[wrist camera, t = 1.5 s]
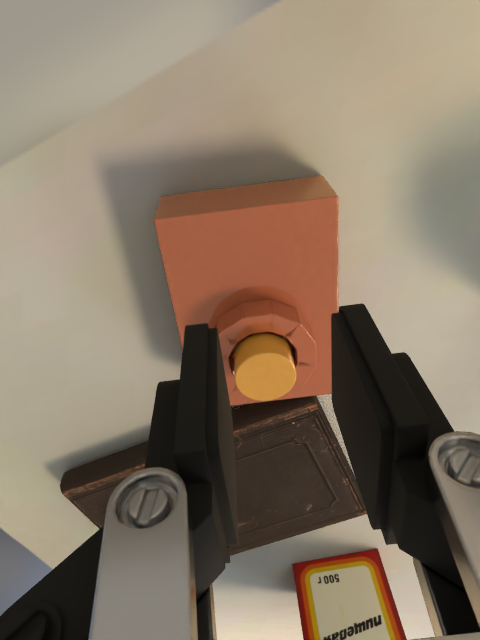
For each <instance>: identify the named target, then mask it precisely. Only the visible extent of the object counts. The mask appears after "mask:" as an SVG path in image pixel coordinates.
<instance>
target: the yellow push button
mask: <svg viewBox="0 0 480 640" xmlns="http://www.w3.org/2000/svg"><path fill="white" fill-rule="evenodd" d="M233 359H234V375H235V383H236V386H237V388H238V389H239V391H240V392H241V393H242V394H243V395H245V396H246V397H248V398H251V399H253V400H258V401H269V400H274V399H277V398H280V397H282V396H283V395H285V394H286V393H288V392H289V391H290V390H291V388H292V387H293V385H294V384H295V381H296V377H297V372H296V367H295V363H294V359H293V355H292V351H291V348H290V346H289V345H288V343H287V342H286V341H285V340H284V339H282V338H281V337H279V336H277V335H274V334H269V333H260V334H255V335H252V336H249V337H247V338H246V339H244V340H243V341H242V342H241V343H240V344H239V345H238V346H237V348H236V350H235V352H234V358H233Z"/></svg>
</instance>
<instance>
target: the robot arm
mask: <svg viewBox="0 0 480 640" xmlns="http://www.w3.org/2000/svg"><path fill="white" fill-rule="evenodd" d="M331 362H332V403H333V408H334V412H335V415H336V418H337V421H338V424H339V427H340V431H341V434H342V437H343V440H344V443H345V446H346V449H347V452H348V456H349V459H350V462H351V465H352V468H353V471H354V474H355V477H356V480H357V484H358V487H359V490H360V493H361V496H362V499H363V502H364V505H365V509H366V512H367V515H368V518H369V521H370V524H371V526H372V528H373V529H374V530H375V529H381V531H382V533H383V536H384V539H385V542H386V545H388V544H398V547H399V549H401V550H403V551H404V552H406V553H407V554H409V555H411V556H412V557H413V562H414V567H415V570H416V573H417V577H418V580H419V584H420V587H421V590H422V594H423V597H424V600H425V604H426V607H427V611H428V614H429V617H430V621H431V624H432V627H433V631H434V634H435V637H430V638H421V639H412V640H480V435H479V434H475V433H471V432H459V431H456V432H454V430H453V428H452V427H451V425H450V423H449V422H448V420H447V418H446V417H445V415H444V413H443V412H442V410H441V409H440V407H439V405H438V404H437V402H436V400H435V399H434V397H433V395H432V394H431V392H430V390H429V389H428V387H427V385H426V384H425V382H424V380H423V379H422V377H421V375H420V374H419V372H418V370H417V369H416V367H415V366H414V364H413V362H412V361H411V359H410V357H409V356H408V355H407V354H406V353H404V352H402V353H394V354H391V352H390V350H389V348H388V346H387V345H386V343H385V341H384V339H383V337H382V336H381V334H380V332H379V330H378V328H377V327H376V325H375V323H374V321H373V319H372V318H371V316H370V314H369V312H368V310H367V309H366V307H365V305H364V304H355V305H347V306H340V307H339V313H332V315H331ZM238 544H239V539H238V519H237V500H236V480H235V460H234V441H233V422H232V412H231V405H230V399H229V393H228V388H227V382H226V376H225V370H224V364H223V358H222V352H221V346H220V340H219V334H218V329H217V328H209V325H208V323H202V324H194V325H186V326H185V332H184V343H183V353H182V364H181V375H180V380H172V381H164V382H159V383H158V386H157V391H156V397H155V404H154V410H153V416H152V423H151V429H150V436H149V442H148V448H147V455H146V461H145V468H144V469H143V470H140V471H137V472H135V473H133V474H131V475H130V476H128V477H126V478H125V479H124V480H123V481H122V482H121V483H120V484H119V485H117V486H116V488H115V490H114V491H113V493H112V494H111V496H110V498H109V501H108V504H107V508H106V516H105V523H104V526H103V527H102V528H101V529H99V530H98V531H97V532H96V533H95V534H94V535H92V536H91V537H90V538H89V539H88V540H87V541H86V542H84V543H83V544H82V545H81V546H80V547H79V548H77V549H76V550H75V551H74V552H73V553H72V554H71V555H69V556H68V557H67V558H66V559H65V560H64V561H62V562H61V563H60V564H59V565H58V566H57V567H55V568H54V569H53V570H52V571H51V572H50V573H49V574H47V575H46V576H45V577H44V578H43V579H42V580H41V581H39V582H38V583H37V584H36V585H35V586H34V587H32V588H31V589H30V590H29V591H28V592H27V593H25V594H24V595H23V596H22V597H21V598H20V599H19V600H17V601H16V602H15V603H14V604H13V605H12V606H11V607H9V608H8V609H7V610H6V611H5V612H4V613H3V614H2V615H1V616H0V640H217V636H216V623H215V610H214V596H213V586H212V583H213V582H214V580H215V579H216V578H217V577H218V576H219V575H220V574H221V572H222V571H223V570H224V569H225V563H230V547H229V546H236V545H238Z"/></svg>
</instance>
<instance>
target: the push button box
mask: <svg viewBox="0 0 480 640" xmlns="http://www.w3.org/2000/svg"><path fill="white" fill-rule="evenodd" d="M154 224H155V229H156V233H157V238H158V242H159V247H160V251H161V256H162V260H163V264H164V269H165V273H166V278H167V282H168V287H169V291H170V296H171V300H172V304H173V309H174V313H175V318H176V322H177V327H178V331H179V335H180V340H181V344H182V349H183V343H184V332H185V326H186V325H194V324H202V323H208V325H209V328H217V329H218V334H219V340H220V346H221V352H222V358H223V364H224V370H225V376H226V382H227V388H228V393H229V399H230V405H231V406H233V405H241V404H249V403H258V402H266V401H258V400H253V399H251V398H248V397H246V396H245V395H243V394H242V393H241V392H240V391H239V389H238V388H237V386H236V383H235V375H234V359H233V358H234V352H235V350H236V348H237V346H238V345H239V344H240V343H241V342H242V341H243V340H244V339H246V338H247V337H249V336H252V335H255V334H260V333H269V334H274V335H277V336H279V337H281V338H282V339H284V340H285V341H286V342H287V343H288V345H289V346H290V348H291V351H292V355H293V359H294V363H295V367H296V372H297V377H296V381H295V384H294V385H293V387H292V388H291V390H290V391H289V392H288V393H286V394H285V395H283V396H282V397H280V398H277V399H274V400H283V399H291V398H299V397H307V396H316V395H324V394H332V362H331V315H332V313H338V195H337V194H336V193H335V191H334V190H333V189H332V187H331V186H330V185H329V183H328V182H327V181H326V180H325V178H324V177H323V176H314V177H306V178H298V179H291V180H283V181H275V182H267V183H260V184H252V185H244V186H237V187H229V188H221V189H213V190H206V191H198V192H190V193H182V194H175V195H167V196H161V198H160V201H159V205H158V208H157V211H156V214H155V217H154ZM274 400H269V401H274Z"/></svg>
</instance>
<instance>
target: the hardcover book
mask: <svg viewBox="0 0 480 640" xmlns="http://www.w3.org/2000/svg"><path fill="white" fill-rule="evenodd" d="M231 412H232V422H233V441H234V460H235V480H236V500H237V519H238V539H239V544H238V545H236V546H229V547H230V555H234V554H237V553H240V552H244V551H247V550H250V549H253V548H257V547H260V546H263V545H266V544H270V543H273V542H276V541H280V540H283V539H286V538H289V537H293V536H296V535H299V534H303V533H306V532H309V531H312V530H316V529H319V528H322V527H325V526H329V525H332V524H335V523H339V522H342V521H345V520H348V519H352V518H355V517H358V516H361V515H365V514H367V512H366V509H365V505H364V502H363V499H362V496H361V493H360V490H359V487H358V484H357V480H356V478H355V476H354V474H353V472H352V470H351V468H350V466H349V464H348V461H347V459H346V457H345V455H344V453H343V451H342V449H341V447H340V445H339V443H338V440H337V438H336V436H335V434H334V432H333V430H332V428H331V426H330V424H329V422H328V419H327V417H326V415H325V413H324V411H323V409H322V407H321V405H320V403H319V401H318V399H317V396H307V397H299V398H291V399H283V400H274V401H266V402H258V403H252V404H249V405H247V406H244V407H241V408H238V409H236V410H233V411H231ZM147 448H148V442H146V443H143V444H140V445H138V446H135V447H132V448H130V449H127V450H124V451H121V452H119V453H116V454H113V455H111V456H108V457H105V458H102V459H100V460H97V461H94V462H91V463H89V464H86V465H83V466H81V467H78V468H75V469H72V470H70V471H67V472H65V473H64V475H63V477H62V480H61V484H60V489H61V492H62V494H63V495H64V496H65V497H66V498H67V499H68V500H70V501H71V502H72V503H73V504H74V505H75V506H76V507H77V508H78V509H79V510H80V511H81V512H82V513H83V514H84V515H85V516H87V517H88V518H89V519H90V520H91V521H92V522H93V523H94V524H95V525H96V526H97V527H98V528H99V529H101V528H102V527H103V526H104V523H105V516H106V508H107V504H108V501H109V498H110V496H111V494H112V493H113V491H114V490H115V488H116V486H117V485H119V484H120V483H121V482H122V481H123V480H124V479H125V478H126V477H128V476H130V475H131V474H133V473H135V472H137V471H140V470H143V469H144V468H145V461H146V455H147Z"/></svg>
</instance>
